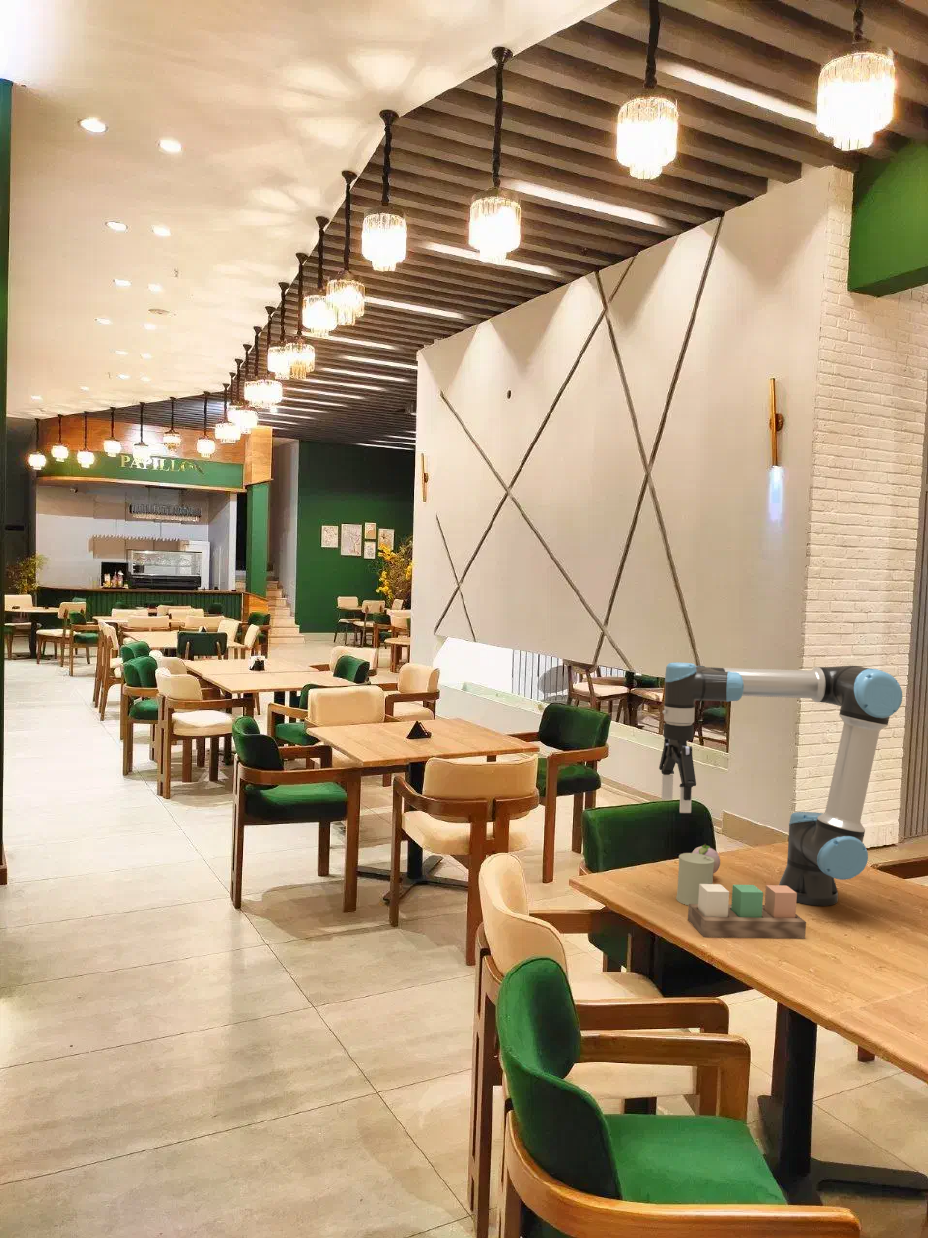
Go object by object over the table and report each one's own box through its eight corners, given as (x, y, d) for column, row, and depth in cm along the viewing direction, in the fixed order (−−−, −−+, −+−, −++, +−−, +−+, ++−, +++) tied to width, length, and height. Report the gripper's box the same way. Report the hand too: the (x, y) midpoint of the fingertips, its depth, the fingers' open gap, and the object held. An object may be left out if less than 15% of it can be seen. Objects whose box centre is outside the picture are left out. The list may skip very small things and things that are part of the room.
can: (713, 909, 229) (716, 863, 228) (676, 905, 230) (679, 859, 230) (710, 897, 238) (713, 853, 237) (675, 893, 239) (678, 849, 239)
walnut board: (784, 921, 222) (785, 905, 222) (805, 938, 211) (806, 922, 211) (687, 919, 220) (688, 904, 220) (703, 937, 209) (704, 920, 209)
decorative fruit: (719, 885, 248) (721, 850, 248) (689, 881, 250) (691, 846, 250) (719, 875, 257) (721, 841, 257) (690, 871, 259) (692, 837, 259)
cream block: (718, 912, 218) (720, 884, 217) (727, 920, 212) (729, 891, 212) (697, 912, 217) (699, 884, 217) (705, 920, 212) (707, 891, 212)
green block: (752, 913, 218) (753, 885, 218) (761, 921, 213) (763, 892, 213) (730, 912, 218) (732, 884, 218) (739, 920, 213) (741, 892, 212)
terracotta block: (784, 913, 219) (786, 885, 219) (795, 921, 214) (796, 893, 214) (764, 913, 219) (765, 885, 219) (773, 921, 213) (775, 892, 213)
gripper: (649, 716, 237) (646, 794, 238) (681, 731, 212) (678, 818, 213) (676, 716, 238) (673, 794, 239) (711, 731, 213) (708, 818, 214)
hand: (675, 806), depth 226 cm, fingers open, 13 cm apart
